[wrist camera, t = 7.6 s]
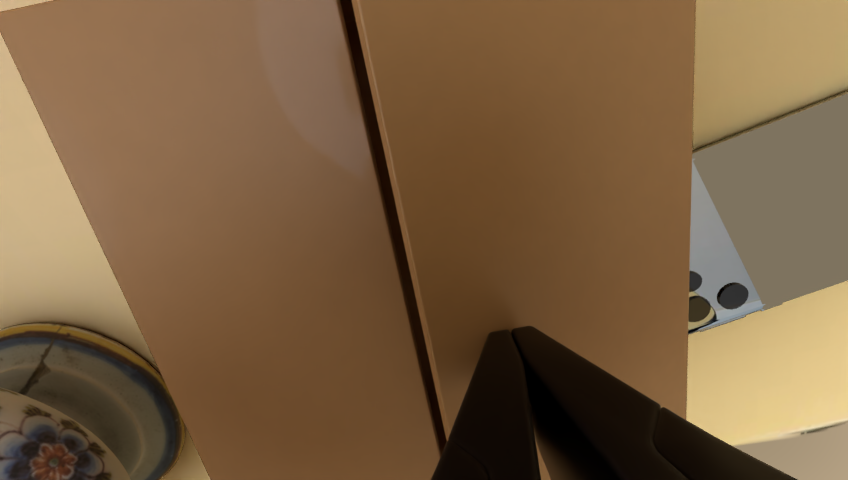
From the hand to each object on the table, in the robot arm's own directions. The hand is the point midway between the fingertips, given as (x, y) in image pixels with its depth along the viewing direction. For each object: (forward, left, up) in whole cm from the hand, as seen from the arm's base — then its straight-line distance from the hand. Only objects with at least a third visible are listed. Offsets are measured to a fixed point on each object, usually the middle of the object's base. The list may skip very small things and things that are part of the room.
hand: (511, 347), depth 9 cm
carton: (+2, 0, -9) cm, 9 cm away
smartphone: (-13, +2, -9) cm, 16 cm away
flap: (-1, 0, -1) cm, 2 cm away
